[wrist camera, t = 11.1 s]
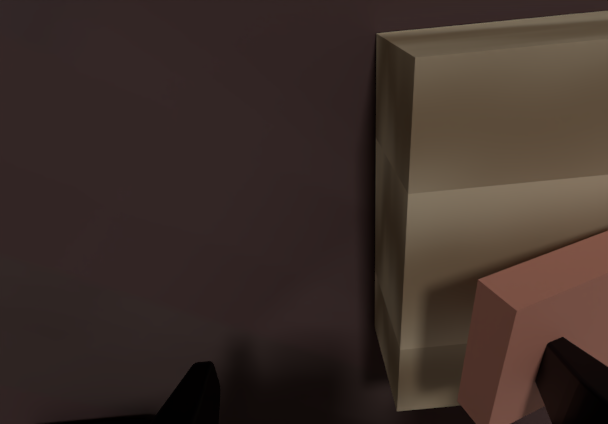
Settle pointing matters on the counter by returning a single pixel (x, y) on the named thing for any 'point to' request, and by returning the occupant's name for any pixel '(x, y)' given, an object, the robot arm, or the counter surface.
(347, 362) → the counter surface
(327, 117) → the counter surface
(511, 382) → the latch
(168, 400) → the robot arm
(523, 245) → the block
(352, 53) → the counter surface
